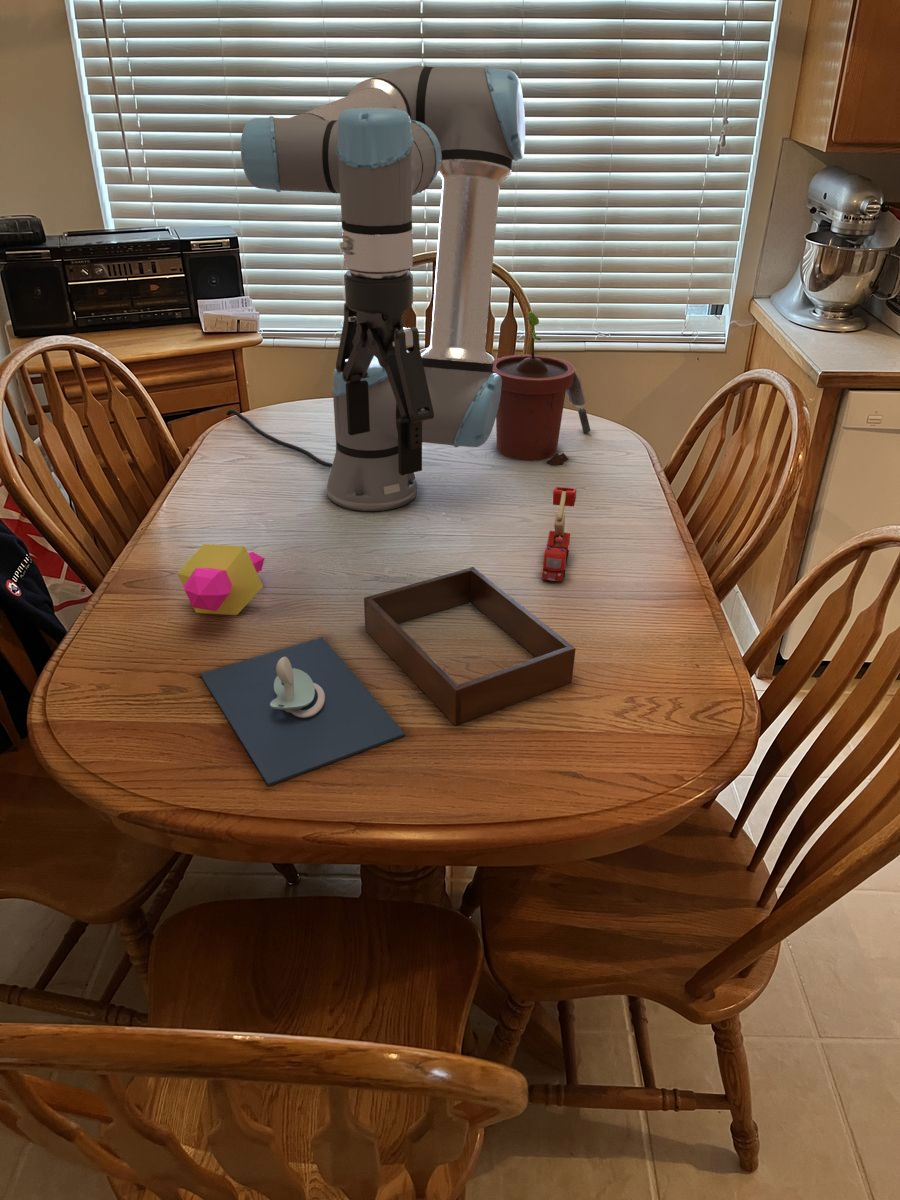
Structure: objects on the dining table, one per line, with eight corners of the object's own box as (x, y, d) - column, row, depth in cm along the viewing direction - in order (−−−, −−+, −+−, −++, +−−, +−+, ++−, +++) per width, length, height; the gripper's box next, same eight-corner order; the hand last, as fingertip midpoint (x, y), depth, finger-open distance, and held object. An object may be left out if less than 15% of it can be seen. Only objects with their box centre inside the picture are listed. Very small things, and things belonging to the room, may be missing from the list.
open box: (364, 630, 117) (363, 597, 115) (471, 597, 125) (473, 566, 122) (454, 726, 101) (456, 690, 98) (572, 682, 108) (575, 648, 106)
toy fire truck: (540, 582, 129) (545, 522, 124) (550, 539, 140) (555, 482, 135) (563, 585, 128) (569, 524, 123) (571, 541, 140) (577, 484, 135)
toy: (288, 585, 128) (258, 518, 126) (252, 619, 111) (216, 542, 109) (225, 609, 130) (195, 543, 128) (180, 646, 113) (144, 571, 111)
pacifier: (327, 684, 107) (276, 684, 106) (326, 641, 103) (273, 640, 103) (323, 724, 100) (268, 723, 100) (321, 679, 97) (265, 678, 97)
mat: (200, 676, 108) (200, 673, 108) (322, 639, 115) (322, 637, 115) (268, 786, 92) (267, 783, 92) (404, 736, 99) (404, 733, 99)
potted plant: (482, 430, 180) (487, 303, 167) (589, 431, 181) (602, 304, 168) (488, 465, 165) (494, 327, 152) (605, 465, 166) (621, 328, 153)
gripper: (301, 251, 105) (313, 423, 117) (402, 300, 87) (405, 497, 99) (359, 245, 108) (365, 413, 120) (467, 291, 90) (463, 483, 102)
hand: (383, 451), depth 109 cm, fingers open, 13 cm apart
